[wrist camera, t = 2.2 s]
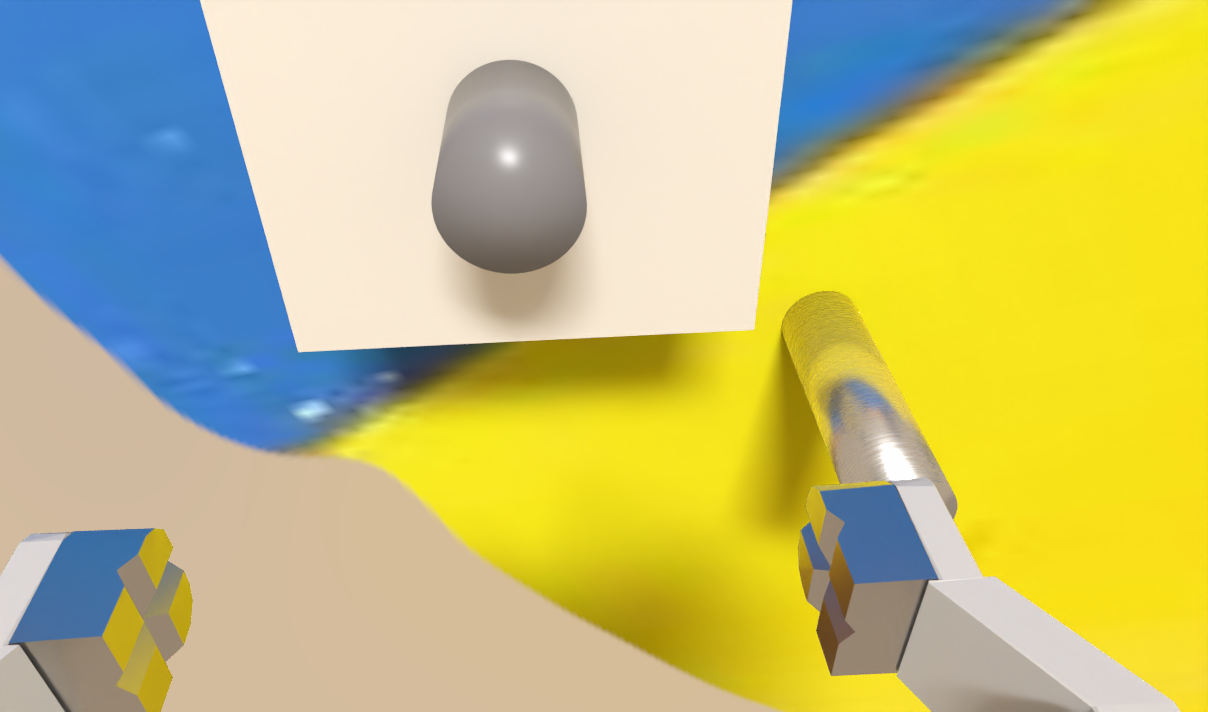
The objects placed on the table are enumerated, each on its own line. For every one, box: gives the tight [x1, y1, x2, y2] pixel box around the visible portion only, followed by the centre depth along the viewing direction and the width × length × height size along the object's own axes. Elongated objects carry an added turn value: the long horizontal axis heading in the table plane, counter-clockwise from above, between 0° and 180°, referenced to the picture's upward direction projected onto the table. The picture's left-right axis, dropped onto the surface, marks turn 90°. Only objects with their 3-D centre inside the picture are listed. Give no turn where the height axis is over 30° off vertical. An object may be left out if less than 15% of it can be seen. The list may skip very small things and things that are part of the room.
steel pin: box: [782, 291, 957, 519], centre depth 31 cm, size 3×3×10 cm
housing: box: [200, 0, 792, 352], centre depth 22 cm, size 12×12×11 cm
